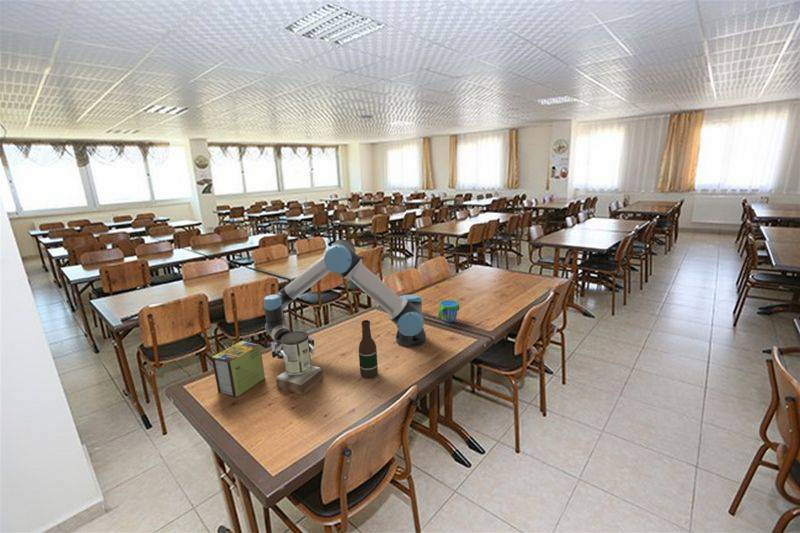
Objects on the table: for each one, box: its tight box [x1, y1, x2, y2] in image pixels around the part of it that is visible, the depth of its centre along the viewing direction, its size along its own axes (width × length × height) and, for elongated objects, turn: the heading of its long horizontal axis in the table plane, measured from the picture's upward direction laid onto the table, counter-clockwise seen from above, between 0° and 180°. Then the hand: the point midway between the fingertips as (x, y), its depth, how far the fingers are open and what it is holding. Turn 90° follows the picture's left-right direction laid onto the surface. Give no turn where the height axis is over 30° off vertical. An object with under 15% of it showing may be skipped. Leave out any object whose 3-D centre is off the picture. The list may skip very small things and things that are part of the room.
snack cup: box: [437, 299, 460, 323], centre depth 206 cm, size 16×10×10 cm
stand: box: [275, 365, 324, 396], centre depth 151 cm, size 13×13×5 cm
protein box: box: [211, 340, 266, 398], centre depth 150 cm, size 10×15×16 cm
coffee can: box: [281, 330, 313, 375], centre depth 148 cm, size 10×10×14 cm
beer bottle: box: [358, 319, 379, 380], centre depth 153 cm, size 8×8×24 cm
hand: (300, 355), depth 145 cm, fingers closed on coffee can, 10 cm apart
